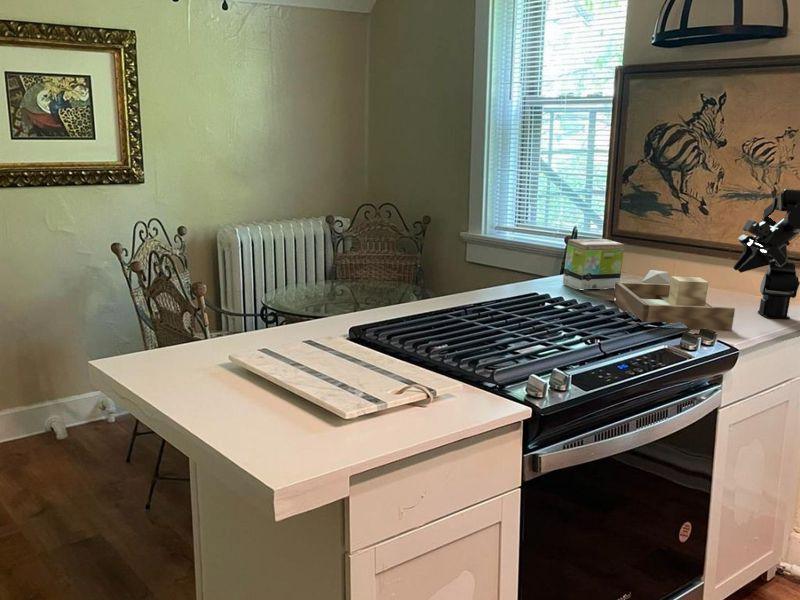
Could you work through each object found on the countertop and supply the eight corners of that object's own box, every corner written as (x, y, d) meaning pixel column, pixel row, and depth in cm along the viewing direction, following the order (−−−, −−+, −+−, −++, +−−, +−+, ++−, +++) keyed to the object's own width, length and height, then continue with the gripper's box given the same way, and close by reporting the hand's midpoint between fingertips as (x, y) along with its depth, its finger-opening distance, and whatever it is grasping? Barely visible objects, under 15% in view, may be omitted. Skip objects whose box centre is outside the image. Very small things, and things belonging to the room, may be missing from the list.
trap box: (693, 305, 230) (695, 285, 229) (731, 330, 205) (735, 308, 203) (613, 301, 229) (615, 281, 228) (641, 327, 204) (644, 305, 202)
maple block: (696, 303, 219) (699, 277, 218) (704, 309, 214) (708, 282, 212) (667, 302, 219) (671, 276, 217) (675, 307, 213) (679, 281, 211)
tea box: (581, 292, 240) (586, 244, 236) (561, 284, 249) (566, 238, 245) (620, 289, 246) (625, 243, 243) (599, 282, 255) (604, 237, 251)
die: (673, 299, 239) (659, 269, 242) (681, 291, 231) (667, 260, 234) (647, 308, 239) (634, 278, 242) (654, 300, 231) (640, 270, 233)
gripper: (749, 205, 219) (705, 242, 222) (782, 215, 201) (733, 255, 203) (773, 234, 221) (728, 271, 224) (807, 246, 203) (758, 286, 206)
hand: (736, 270), depth 214 cm, fingers open, 3 cm apart
